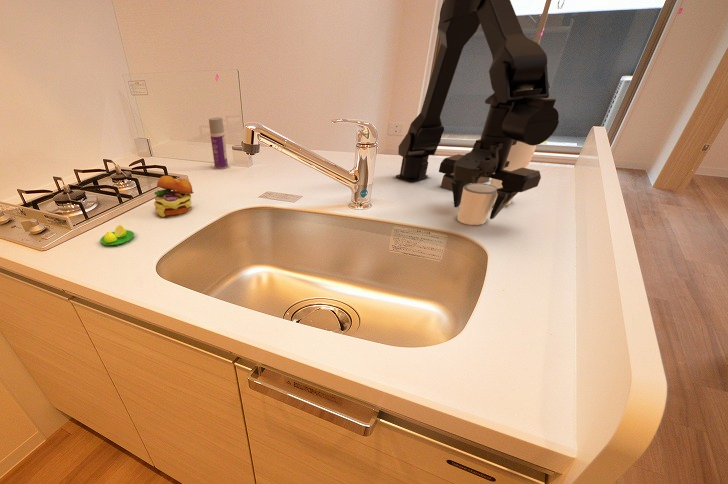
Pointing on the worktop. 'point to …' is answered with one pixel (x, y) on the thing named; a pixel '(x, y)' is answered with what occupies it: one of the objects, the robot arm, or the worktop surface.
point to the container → (218, 142)
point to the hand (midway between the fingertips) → (473, 212)
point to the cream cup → (476, 203)
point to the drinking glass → (516, 160)
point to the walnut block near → (446, 183)
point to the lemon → (117, 236)
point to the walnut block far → (482, 180)
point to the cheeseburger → (173, 196)
